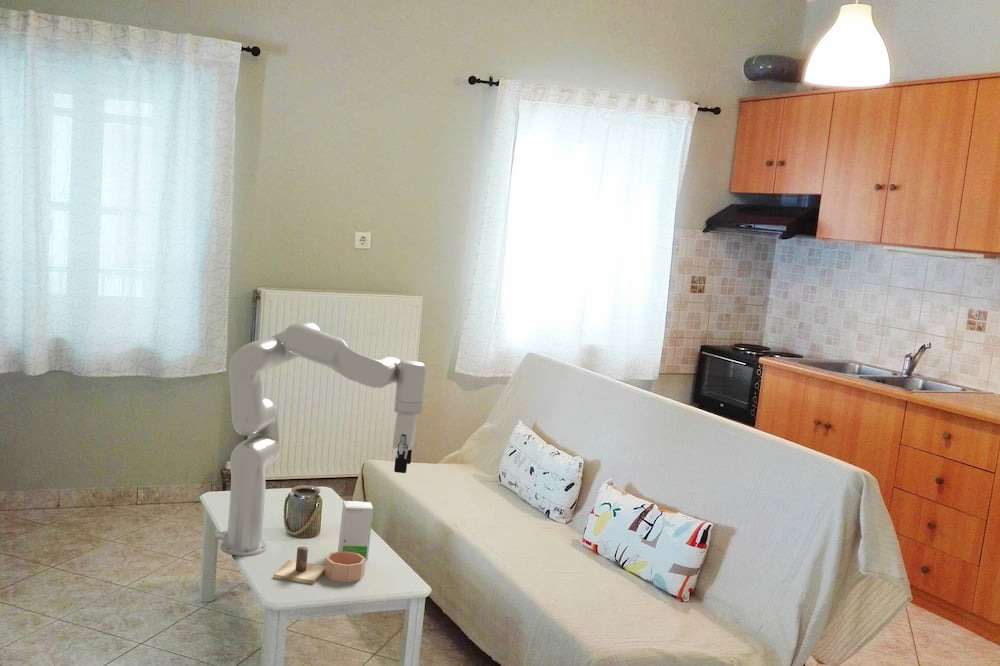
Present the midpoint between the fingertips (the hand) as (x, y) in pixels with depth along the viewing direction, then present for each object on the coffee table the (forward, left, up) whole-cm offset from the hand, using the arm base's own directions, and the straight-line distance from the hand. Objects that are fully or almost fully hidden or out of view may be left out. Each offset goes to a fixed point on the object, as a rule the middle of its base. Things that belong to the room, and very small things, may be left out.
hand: (402, 467), depth 262 cm
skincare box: (-14, +8, -30) cm, 34 cm away
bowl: (-12, -7, -30) cm, 33 cm away
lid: (-23, -11, -30) cm, 39 cm away
